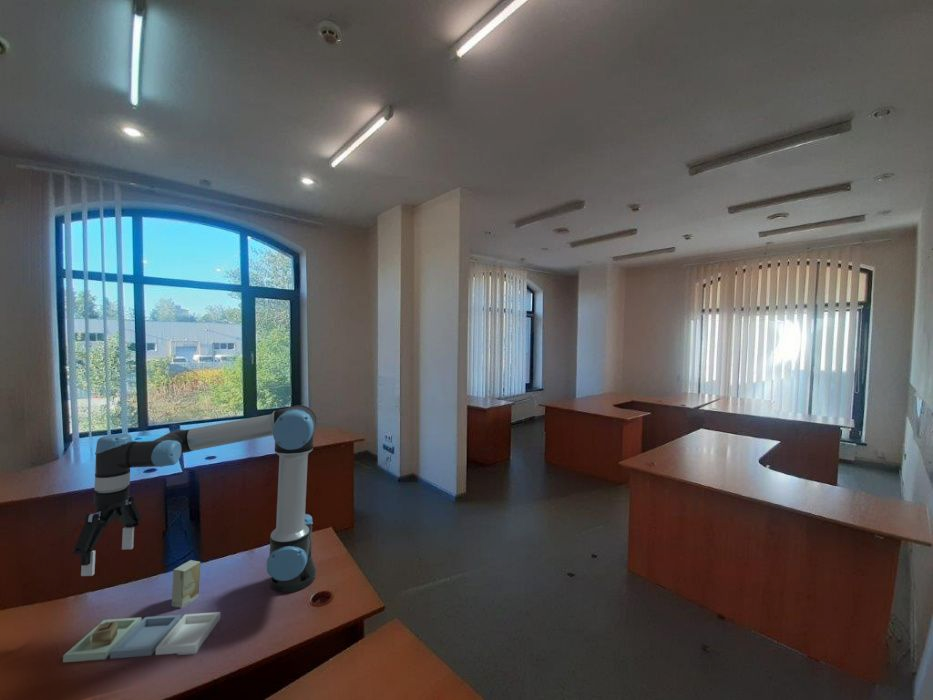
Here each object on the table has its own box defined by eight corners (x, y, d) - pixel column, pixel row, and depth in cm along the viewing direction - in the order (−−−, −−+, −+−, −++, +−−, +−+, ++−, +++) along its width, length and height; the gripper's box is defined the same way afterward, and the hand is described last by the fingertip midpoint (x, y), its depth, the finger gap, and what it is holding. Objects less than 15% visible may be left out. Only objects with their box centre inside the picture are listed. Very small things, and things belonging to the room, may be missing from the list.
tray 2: (181, 622, 113) (181, 614, 113) (151, 657, 100) (151, 648, 100) (144, 625, 112) (145, 617, 112) (109, 660, 99) (110, 651, 99)
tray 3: (220, 619, 115) (220, 612, 115) (195, 653, 102) (195, 645, 102) (184, 622, 113) (185, 614, 113) (155, 657, 100) (155, 648, 100)
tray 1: (141, 625, 111) (141, 617, 111) (105, 661, 99) (106, 652, 99) (103, 627, 110) (104, 619, 110) (62, 664, 97) (63, 655, 97)
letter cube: (117, 634, 107) (117, 620, 107) (110, 644, 103) (110, 630, 103) (99, 638, 105) (99, 624, 105) (91, 648, 102) (92, 634, 102)
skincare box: (181, 610, 118) (183, 572, 118) (170, 608, 119) (172, 570, 119) (200, 597, 125) (201, 561, 125) (189, 595, 125) (190, 559, 126)
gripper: (131, 474, 120) (128, 539, 120) (55, 506, 95) (51, 588, 95) (156, 474, 121) (153, 539, 121) (87, 505, 96) (83, 587, 96)
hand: (108, 561), depth 108 cm, fingers open, 13 cm apart
